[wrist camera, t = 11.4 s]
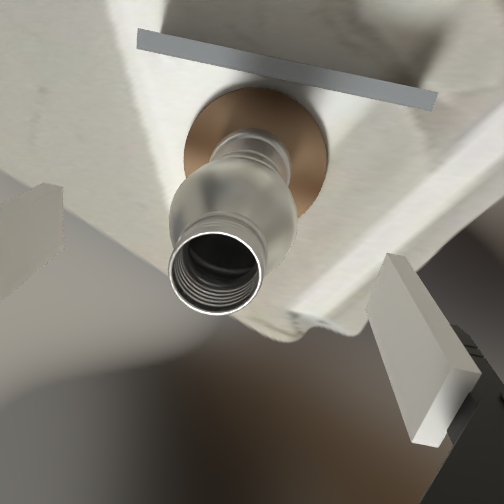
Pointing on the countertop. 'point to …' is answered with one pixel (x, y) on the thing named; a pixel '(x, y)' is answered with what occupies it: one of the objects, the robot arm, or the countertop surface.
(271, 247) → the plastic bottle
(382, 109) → the countertop surface
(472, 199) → the countertop surface
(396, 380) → the robot arm
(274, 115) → the walnut coaster
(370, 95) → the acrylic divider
